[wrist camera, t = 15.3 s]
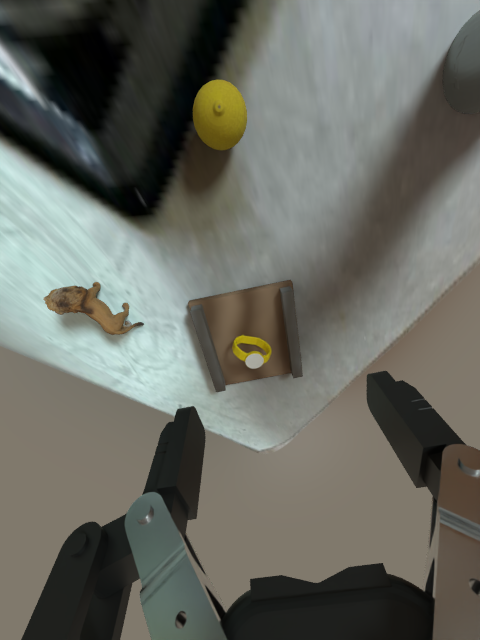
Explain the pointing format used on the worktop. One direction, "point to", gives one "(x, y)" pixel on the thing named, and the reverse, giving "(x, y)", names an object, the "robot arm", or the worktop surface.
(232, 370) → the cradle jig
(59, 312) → the lion figurine
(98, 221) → the worktop surface
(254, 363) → the watch
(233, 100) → the lemon
